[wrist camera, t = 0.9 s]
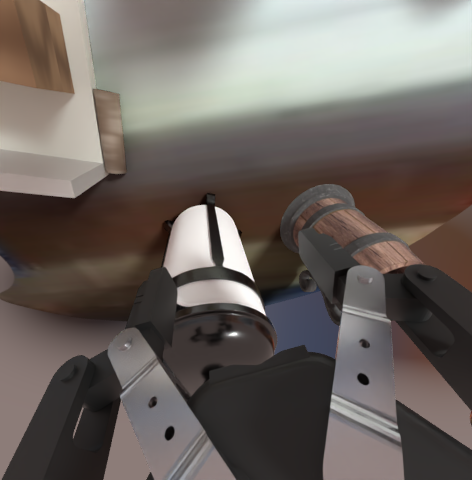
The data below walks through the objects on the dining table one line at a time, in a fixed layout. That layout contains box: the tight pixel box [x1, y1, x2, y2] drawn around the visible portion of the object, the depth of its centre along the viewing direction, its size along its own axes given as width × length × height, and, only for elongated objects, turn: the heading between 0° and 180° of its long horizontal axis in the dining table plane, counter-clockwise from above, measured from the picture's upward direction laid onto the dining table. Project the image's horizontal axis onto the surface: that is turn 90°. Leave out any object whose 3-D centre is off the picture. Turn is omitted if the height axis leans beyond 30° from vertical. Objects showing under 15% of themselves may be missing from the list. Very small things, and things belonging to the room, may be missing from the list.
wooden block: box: [93, 88, 127, 174], centre depth 28 cm, size 10×3×3 cm
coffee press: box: [161, 193, 277, 396], centre depth 28 cm, size 17×16×30 cm
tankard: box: [280, 184, 425, 326], centre depth 37 cm, size 24×17×20 cm
